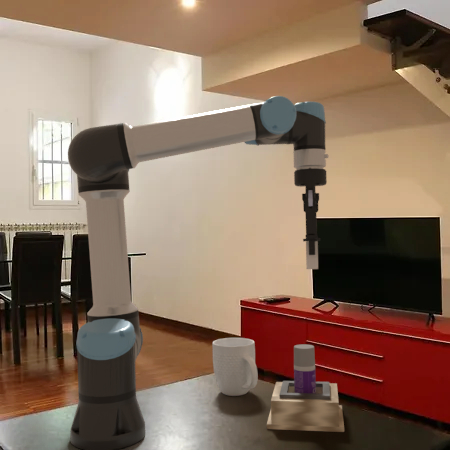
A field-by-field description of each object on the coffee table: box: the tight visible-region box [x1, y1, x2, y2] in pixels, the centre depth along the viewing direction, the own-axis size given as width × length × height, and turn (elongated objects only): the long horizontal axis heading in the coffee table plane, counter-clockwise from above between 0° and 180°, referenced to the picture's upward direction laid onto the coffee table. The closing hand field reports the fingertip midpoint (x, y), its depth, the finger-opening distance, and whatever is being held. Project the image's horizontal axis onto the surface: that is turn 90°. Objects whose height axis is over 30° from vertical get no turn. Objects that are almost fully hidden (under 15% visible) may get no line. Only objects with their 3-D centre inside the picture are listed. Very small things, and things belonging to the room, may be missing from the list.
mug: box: [212, 337, 259, 397], centre depth 142 cm, size 15×11×13 cm
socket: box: [266, 380, 345, 433], centre depth 123 cm, size 16×14×7 cm
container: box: [293, 343, 317, 394], centre depth 123 cm, size 5×5×15 cm
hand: (312, 268), depth 131 cm, fingers closed
